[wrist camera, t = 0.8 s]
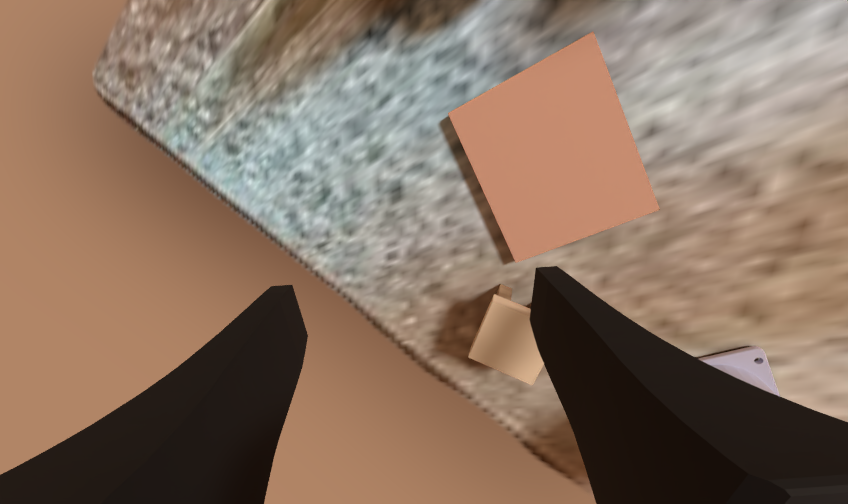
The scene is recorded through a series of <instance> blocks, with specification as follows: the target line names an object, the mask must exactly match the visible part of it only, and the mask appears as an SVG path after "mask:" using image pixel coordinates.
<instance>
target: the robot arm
mask: <svg viewBox="0 0 848 504" xmlns="http://www.w3.org/2000/svg"><path fill="white" fill-rule="evenodd" d="M529 320H530V324H531V327H532V331H533V335H534V338H535V341H536V345H537V348H538V351H539V353H540V356H541V358H542V360H543V362H544V365H545V367H546V369H547V372H548V374H549V376H550V379H551V381H552V383H553V385H554V388H555V390H556V392H557V394H558V397H559V399H560V401H561V403H562V406H563V408H564V410H565V412H566V415H567V417H568V419H569V422H570V424H571V427H572V429H573V432H574V435H575V438H576V441H577V444H578V447H579V450H580V453H581V456H582V459H583V462H584V465H585V468H586V471H587V474H588V478H589V481H590V484H591V487H592V490H593V494H594V497H595V500H596V503H597V504H848V422H845V421H842V420H839V419H837V418H834V417H831V416H828V415H826V414H823V413H820V412H817V411H814V410H812V409H809V408H807V407H804V406H802V405H799V404H797V403H794V402H792V401H789V400H787V399H785V398H782V397H780V395H779V392H778V389H777V387H776V384H775V381H774V378H773V375H772V372H771V369H770V366H769V363H768V361H767V358H766V355H765V352H764V351H763V350H762V349H761V348H760V347H757V346H751V347H747V348H742V349H738V350H734V351H729V352H725V353H720V354H716V355H712V356H707V357H703V358H698V359H697V358H695V357H693V356H691V355H689V354H687V353H686V352H684V351H682V350H680V349H678V348H677V347H675V346H673V345H671V344H669V343H668V342H666V341H664V340H662V339H661V338H659V337H657V336H656V335H654V334H652V333H651V332H649V331H647V330H646V329H644V328H643V327H641V326H640V325H638V324H637V323H635V322H633V321H632V320H630V319H629V318H627V317H626V316H624V315H623V314H621V313H620V312H618V311H617V310H616V309H614V308H613V307H611V306H610V305H608V304H607V303H606V302H604V301H603V300H601V299H600V298H599V297H597V296H596V295H595V294H593V293H592V292H591V291H589V290H588V289H587V288H585V287H584V286H583V285H581V284H580V283H579V282H577V281H576V280H575V279H573V278H572V277H571V276H569V275H568V274H567V273H565V272H564V271H563V270H561V269H560V268H558V267H557V266H554V267H540V268H536V272H535V280H534V288H533V296H532V304H531V312H530V319H529ZM307 337H308V335H307V331H306V328H305V325H304V322H303V318H302V315H301V312H300V309H299V305H298V302H297V299H296V296H295V293H294V289H293V286H292V285H284V286H272V287H270V288H269V289H268V290H266V291H265V292H264V293H263V294H262V295H261V296H260V297H259V298H257V299H256V300H255V301H254V302H253V303H252V304H251V305H250V306H249V307H248V308H247V309H245V310H244V311H243V312H242V313H241V314H240V315H239V316H238V317H237V318H235V319H234V320H233V321H232V322H231V323H230V324H229V325H228V326H226V327H225V328H224V329H223V330H222V331H221V332H220V333H219V334H218V335H216V336H215V337H214V338H213V339H212V340H210V341H209V342H208V343H207V344H205V345H204V346H203V347H202V348H201V349H199V350H198V351H197V352H196V353H195V354H193V355H192V356H191V357H190V358H189V359H187V360H186V361H185V362H183V363H182V364H181V365H180V366H179V367H177V368H176V369H174V370H173V371H172V372H170V373H169V374H168V375H166V376H165V377H164V378H162V379H161V380H159V381H158V382H156V383H155V384H154V385H152V386H151V387H149V388H148V389H147V390H145V391H144V392H142V393H141V394H139V395H138V396H136V397H135V398H133V399H132V400H130V401H128V402H127V403H126V404H124V405H122V406H120V407H119V408H117V409H116V410H114V411H113V412H111V413H110V414H108V415H106V416H105V417H103V418H102V419H100V420H99V421H97V422H95V423H94V424H92V425H91V426H89V427H87V428H85V429H84V430H82V431H80V432H78V433H77V434H75V435H73V436H72V437H70V438H68V439H66V440H65V441H63V442H61V443H59V444H57V445H56V446H54V447H52V448H50V449H48V450H47V451H45V452H43V453H41V454H39V455H38V456H36V457H34V458H32V459H30V460H28V461H26V462H24V463H23V464H21V465H19V466H17V467H15V468H13V469H11V470H9V471H7V472H5V473H3V474H1V475H0V504H264V500H265V495H266V491H267V486H268V481H269V477H270V472H271V468H272V463H273V459H274V455H275V451H276V448H277V444H278V440H279V437H280V434H281V431H282V428H283V425H284V422H285V419H286V416H287V413H288V410H289V407H290V404H291V400H292V397H293V394H294V391H295V388H296V385H297V382H298V379H299V375H300V372H301V369H302V365H303V360H304V355H305V349H306V343H307ZM756 358H760V359H759V360H758V361H754V360H755V359H756Z"/></svg>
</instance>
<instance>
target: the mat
mask: <svg viewBox="0 0 848 504" xmlns="http://www.w3.org/2000/svg"><path fill="white" fill-rule="evenodd" d="M448 115H449V117H450V119H451V121H452V124H453V126H454V128H455V130H456V132H457V135H458V137H459V139H460V141H461V143H462V146H463V148H464V150H465V152H466V154H467V157H468V159H469V161H470V163H471V165H472V168H473V170H474V172H475V174H476V176H477V179H478V181H479V183H480V185H481V187H482V190H483V192H484V194H485V196H486V198H487V200H488V203H489V205H490V207H491V209H492V211H493V214H494V216H495V218H496V220H497V222H498V225H499V227H500V229H501V231H502V233H503V236H504V238H505V240H506V242H507V244H508V247H509V249H510V251H511V253H512V255H513V258H514V260H515V262H516V263H517V262H519V261H522V260H525V259H528V258H530V257H533V256H536V255H538V254H541V253H544V252H547V251H549V250H552V249H555V248H557V247H560V246H563V245H565V244H568V243H571V242H574V241H576V240H579V239H582V238H584V237H587V236H590V235H593V234H595V233H598V232H601V231H603V230H606V229H609V228H611V227H614V226H617V225H620V224H622V223H625V222H628V221H630V220H633V219H636V218H639V217H641V216H644V215H647V214H649V213H652V212H655V211H657V210H660V209H659V206H658V204H657V201H656V198H655V196H654V193H653V190H652V188H651V185H650V182H649V180H648V177H647V174H646V172H645V169H644V166H643V163H642V161H641V158H640V155H639V153H638V150H637V147H636V145H635V142H634V139H633V137H632V134H631V131H630V129H629V126H628V123H627V121H626V118H625V115H624V112H623V110H622V107H621V104H620V102H619V99H618V96H617V94H616V91H615V88H614V86H613V83H612V80H611V78H610V75H609V72H608V70H607V67H606V64H605V62H604V59H603V56H602V53H601V51H600V48H599V45H598V43H597V40H596V37H595V35H594V32H591V33H589V34H588V35H586V36H584V37H582V38H581V39H579V40H577V41H575V42H573V43H572V44H570V45H568V46H566V47H565V48H563V49H561V50H559V51H558V52H556V53H554V54H552V55H550V56H549V57H547V58H545V59H543V60H542V61H540V62H538V63H536V64H534V65H533V66H531V67H529V68H527V69H526V70H524V71H522V72H520V73H518V74H517V75H515V76H513V77H511V78H510V79H508V80H506V81H504V82H503V83H501V84H499V85H497V86H495V87H494V88H492V89H490V90H488V91H487V92H485V93H483V94H481V95H479V96H478V97H476V98H474V99H472V100H471V101H469V102H467V103H465V104H463V105H462V106H460V107H458V108H456V109H455V110H453V111H451V112H449V113H448Z"/></svg>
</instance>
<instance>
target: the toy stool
mask: <svg viewBox="0 0 848 504" xmlns="http://www.w3.org/2000/svg"><path fill="white" fill-rule="evenodd" d="M511 295H512V289H511V288H509V287H506V286H504V285H502V284H500V286H499V288H498V291H497V293H496V295H495V294H494V295H493V298H492V300H491V302H490V304H489V307H488V309H487V311H486V314H485V316H484V318H483V320H482V323H481V325H480V327H479V330H478V332H477V334H476V336H475V339H474V341H473V343H472V346H471V348H470V352H469V355H468V357H469V358H471V359H473V360H475V361H478V362H480V363H482V364H485V365H487V366H489V367H491V368H494V369H496V370H498V371H501V372H503V373H505V374H507V375H510V376H512V377H514V378H517V379H519V380H521V381H524V382H526V383H528V384H530V385H533V383H534V382H535V380H536V378H537V376H538V374H539V372H540V370H541V369H542V367H543V365H544V362H543V360H542V358H541V356H540V353H539V351H538V348H537V345H536V341H535V338H534V335H533V331H532V327H531V324H530V320H529V319H530V312H531V309H530V308H527V307H525V306H522V305H520V304H517V303H515V302H513V301H511Z"/></svg>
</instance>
